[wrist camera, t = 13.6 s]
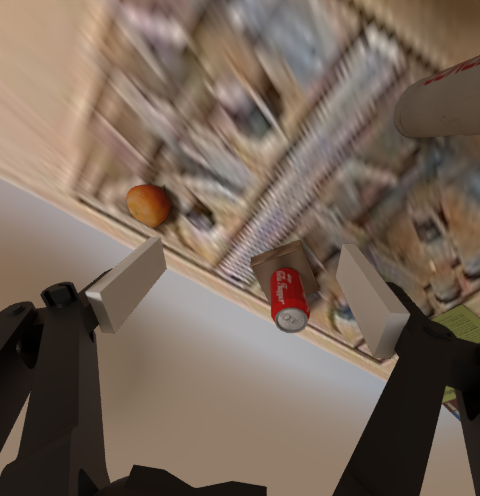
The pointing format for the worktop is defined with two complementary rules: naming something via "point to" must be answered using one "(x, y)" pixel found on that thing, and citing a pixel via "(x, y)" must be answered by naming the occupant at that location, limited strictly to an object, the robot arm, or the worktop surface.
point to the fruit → (149, 204)
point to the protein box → (464, 328)
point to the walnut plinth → (283, 266)
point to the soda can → (288, 301)
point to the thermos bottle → (442, 103)
